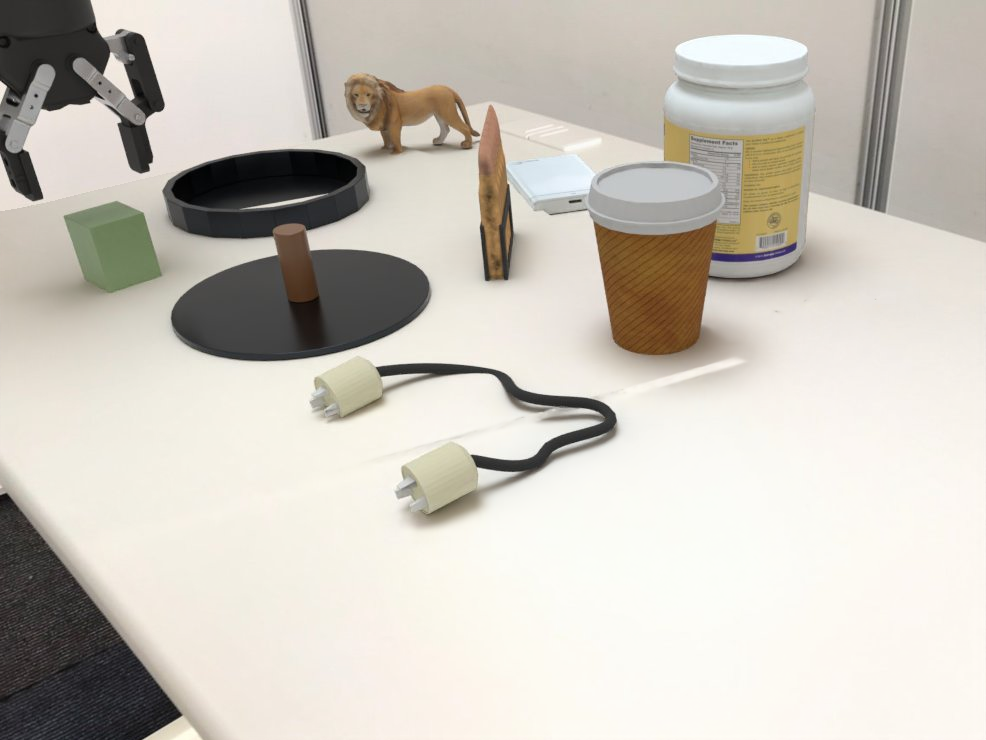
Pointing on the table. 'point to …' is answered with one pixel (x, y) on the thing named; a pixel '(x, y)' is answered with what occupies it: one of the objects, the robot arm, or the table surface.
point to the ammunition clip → (494, 202)
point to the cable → (450, 464)
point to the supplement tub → (746, 143)
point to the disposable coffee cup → (655, 250)
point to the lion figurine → (404, 109)
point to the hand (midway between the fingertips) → (88, 184)
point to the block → (113, 246)
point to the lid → (300, 301)
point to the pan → (266, 192)
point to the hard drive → (552, 182)
